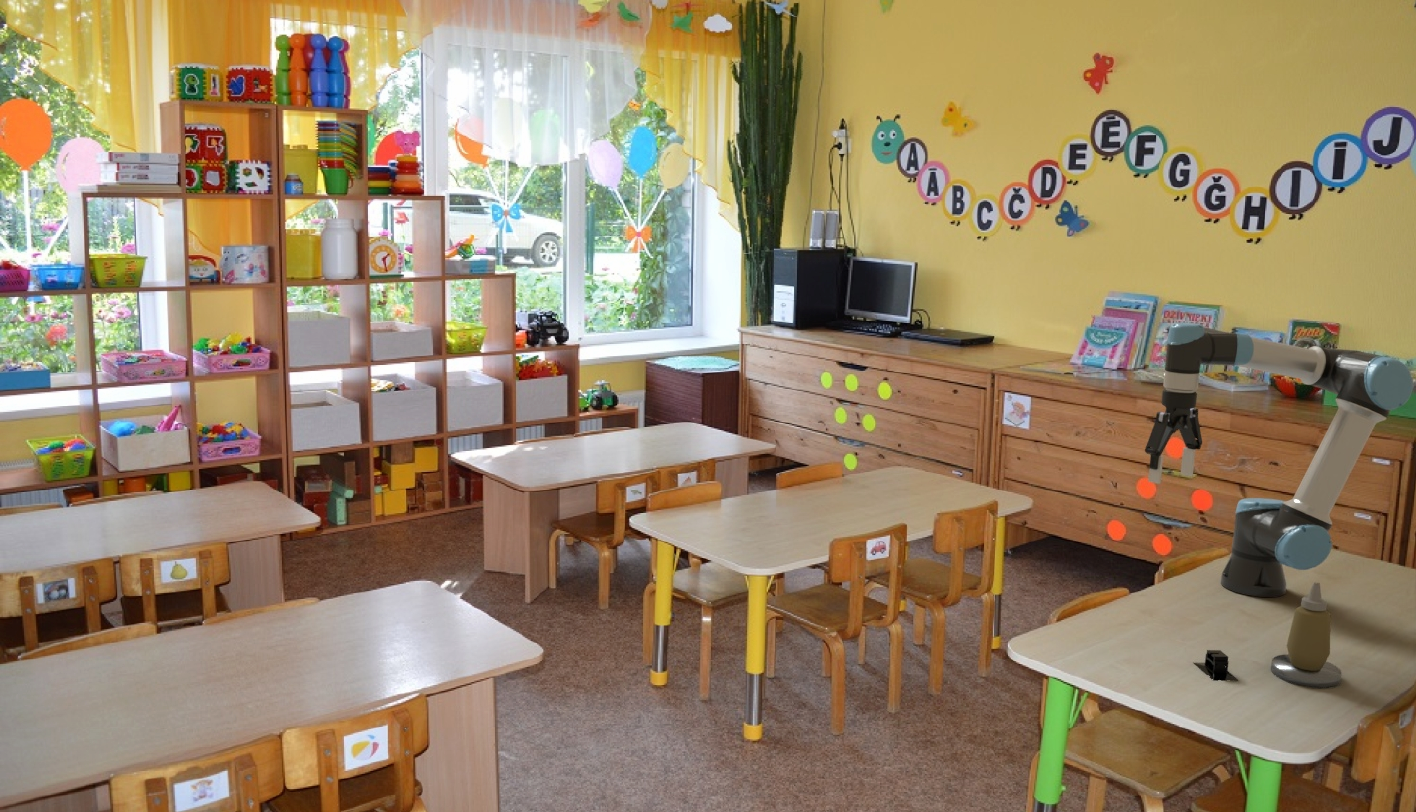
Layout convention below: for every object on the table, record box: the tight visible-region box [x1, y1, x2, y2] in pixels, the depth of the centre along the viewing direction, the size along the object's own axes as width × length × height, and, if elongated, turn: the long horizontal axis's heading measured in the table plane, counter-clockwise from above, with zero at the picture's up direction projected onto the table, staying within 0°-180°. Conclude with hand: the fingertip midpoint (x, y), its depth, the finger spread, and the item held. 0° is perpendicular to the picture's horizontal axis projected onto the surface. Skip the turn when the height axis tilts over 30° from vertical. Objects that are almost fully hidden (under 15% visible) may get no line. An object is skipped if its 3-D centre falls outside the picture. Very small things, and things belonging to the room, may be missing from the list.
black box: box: [1192, 649, 1239, 682], centre depth 251 cm, size 12×7×5 cm, turn 3°
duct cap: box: [1270, 654, 1343, 689], centre depth 250 cm, size 13×13×2 cm
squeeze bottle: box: [1286, 581, 1331, 671], centre depth 249 cm, size 8×8×18 cm
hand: (1170, 479), depth 283 cm, fingers open, 13 cm apart
